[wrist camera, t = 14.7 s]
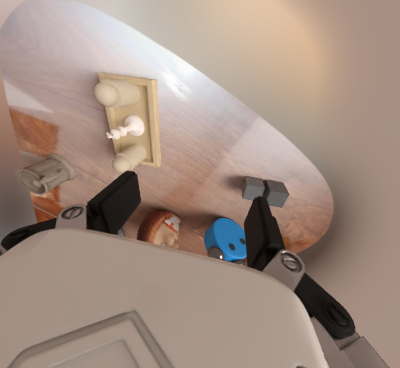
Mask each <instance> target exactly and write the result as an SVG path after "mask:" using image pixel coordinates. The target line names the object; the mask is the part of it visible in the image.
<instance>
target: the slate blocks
mask: <svg viewBox="0 0 400 368" xmlns="http://www.w3.org/2000/svg"><path fill="white" fill-rule="evenodd" d="M258 196H262V197H266V198H267V201H268V204H269V205H270V206H275V207H281V208H282V207H283V205H284V203H285V201H286V200H287V198H288V196H289V193H288V191H287V189H286V187H285V185H284V183H282V182H276V181H270V180H266V182H265V185H264V184H263V181H262V179H259V178H253V177H247V176H246V177H245V180H244V183H243V186H242V198H243V199H248V200H254V198H255V197H258Z"/></svg>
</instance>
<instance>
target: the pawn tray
mask: <svg viewBox="0 0 400 368" xmlns="http://www.w3.org/2000/svg"><path fill="white" fill-rule="evenodd" d="M97 75H98V79H99V83H98V84H97V85H95V87H94V90H93V92H94V96H95V98H96V100H97V101H98V102H99V103H101V104H102V105H105V110H106V114H107V118H108V123H109V127H110V131H111V130H112V129H116V130H117V128H118V127H119V126H122V127H125V119H126V118H127V117H128V116H130V115H135V116H138V117H139V118H140V119H141V120H142V121H143V123H144V127H145V129H144V133H143V134H142V135H140V136H133V135H131V134H130V133H129V132H127V134H126V136H120V138H119V139H113V138H112V140H113V144H114V149H115V153H116V156H115V159H114V160H113V162H112V167H113V169H114V170H115V171H117V172H121V173H122V172H125V171H130V170H132V169H133V168H134V167H135V166H136V165H138V164H140V165H145V166H151V167H157V168H158V167H159V166H160V165H161V150H160V130H159V110H158V90H157V80H153V79H145V78H137V77H129V76H121V75H113V74H105V73H97Z"/></svg>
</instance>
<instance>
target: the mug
mask: <svg viewBox="0 0 400 368" xmlns="http://www.w3.org/2000/svg"><path fill="white" fill-rule="evenodd" d="M76 176H77V172H76V169H75V167H74V166H73V165H72V163H71V162H70V161H69V160H68V159H66V158H65V157H63V156H61V155H59V154H50V155H49V156H48V157H47V159H46V160H44V161H41V162H39V163H36V164H34V165H31V166H29V167H26V168H24V169H19V170H17V171H16V177H17V179H18V180H19V182H20V183H21V184H22V185H23V186H24V187H25V188H27V189H28V190H30V191H31V192H33V193H36V194H40V195H43V194H46V193H47V192H48V191H49V190H51V189H53V188H54V187H56V186H58V185H59V184H61V183H63V182H65V181H66V180H74V179H75V178H76Z"/></svg>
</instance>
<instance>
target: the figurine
mask: <svg viewBox="0 0 400 368" xmlns="http://www.w3.org/2000/svg"><path fill="white" fill-rule="evenodd" d="M179 223H180V218H179V217H177V216H176V215H174V214H173V213H171V212H168V211H155V212H153V213H151V214H150V215H148V216H147V217H146V218H145V219H144V220H143V221H142V223H141V225H140V227H139V230H138V234H137V240H139V241H144V242H148V243H152V244H157V245H161V246H165V247H169V248H174V249H178V250H180V249H179V245H178V242H177V240H178V237H179V230H180V227H179Z"/></svg>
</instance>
